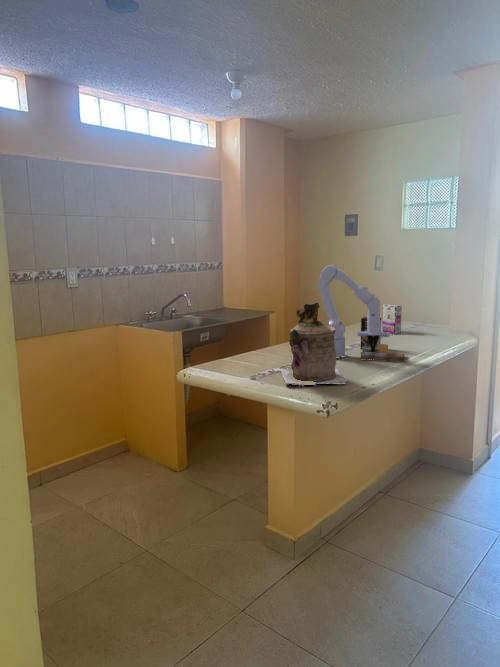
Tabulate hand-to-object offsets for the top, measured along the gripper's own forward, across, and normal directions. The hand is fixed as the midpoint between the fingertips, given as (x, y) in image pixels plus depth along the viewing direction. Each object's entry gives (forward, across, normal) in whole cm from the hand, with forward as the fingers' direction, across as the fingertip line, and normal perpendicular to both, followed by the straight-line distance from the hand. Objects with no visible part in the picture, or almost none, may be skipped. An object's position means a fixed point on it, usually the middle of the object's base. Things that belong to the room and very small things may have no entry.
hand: (373, 351), depth 233 cm
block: (+1, +5, 0) cm, 5 cm away
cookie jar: (+3, -22, -40) cm, 46 cm away
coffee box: (+3, -2, +19) cm, 20 cm away
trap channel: (+3, +4, 0) cm, 5 cm away
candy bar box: (+3, +7, +65) cm, 65 cm away
